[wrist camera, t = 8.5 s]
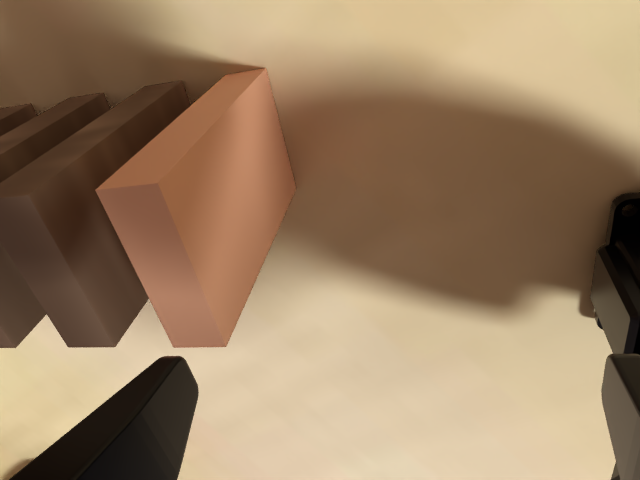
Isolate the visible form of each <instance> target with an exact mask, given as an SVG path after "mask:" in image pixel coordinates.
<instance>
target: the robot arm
mask: <svg viewBox="0 0 640 480" xmlns="http://www.w3.org/2000/svg"><path fill="white" fill-rule="evenodd" d="M630 204H631V205H633V207H632V208H631V209H630V210H627V211H622V209H623V208H624V207H625V206H627V205H630ZM590 298H591V301H592V303H593V306H594V308H595V320H596V322H597V325H598V326H599V327H600V328H601V329H603V330H604V332H605V335H606V337H607V340H608V342H609V344H610V347H611V349H612V352H613V354H610V355H609V356H608V357H607V359H606V364H605V370H604V377H603V383H602V403H603V408H604V412H605V416H606V420H607V425H608V429H609V433H610V437H611V442H612V446H613V450H614V454H615V459H616V464H615V467H614V471H613V474H612V478H611V480H640V192H639V193H627V194H623V195H620V196H619V197H617V198H616V199H615V200H614V201H613V202H612V205H611V210H610V216H609V223H608V230H607V236H606V243H605V245H603V246H601V247H600V248H599V249H598V250H597V252H596V260H595V267H594V274H593V281H592V288H591V295H590ZM197 400H198V385H197V382H196V380H195V378H194V376H193V374H192V372H191V370H190V368H189V366H188V364H187V362H186V360H185V359H184V358H183V357H180V356H164V357H161V358H159V359H158V360H156V361H155V362H154V363H153V364H152V365H150V366H149V367H148V368H147V369H145V370H144V371H143V372H142V373H140V374H139V375H138V376H137V377H135V378H134V379H133V380H132V381H130V382H129V383H128V384H127V385H126V386H124V387H123V388H122V389H121V390H119V391H118V392H117V393H116V394H114V395H113V396H112V397H111V398H109V399H108V400H107V401H106V402H104V403H103V404H102V405H101V406H100V407H98V408H97V409H96V410H95V411H93V412H92V413H91V414H90V415H88V416H87V417H86V418H85V419H83V420H82V421H81V422H80V423H78V424H77V425H76V426H75V427H74V428H72V429H71V430H70V431H69V432H67V433H66V434H65V435H64V436H62V437H61V438H60V439H59V440H57V441H56V442H55V443H54V444H53V445H51V446H50V447H49V448H48V449H46V450H45V451H44V452H43V453H41V454H40V455H39V456H38V457H36V458H35V459H34V460H33V461H31V462H30V463H29V464H28V465H26V466H25V467H24V468H23V469H22V470H20V471H19V472H18V473H17V474H15V475H14V476H13V477H12V478H10V479H9V480H177V478H178V475H179V472H180V468H181V464H182V461H183V457H184V453H185V448H186V444H187V440H188V436H189V432H190V428H191V424H192V420H193V416H194V412H195V408H196V404H197Z"/></svg>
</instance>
